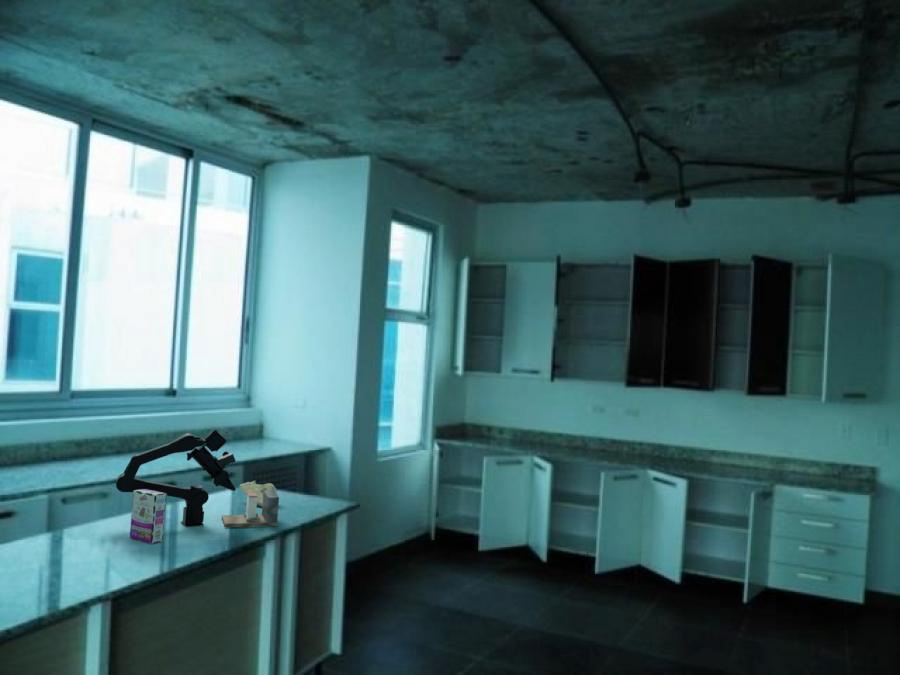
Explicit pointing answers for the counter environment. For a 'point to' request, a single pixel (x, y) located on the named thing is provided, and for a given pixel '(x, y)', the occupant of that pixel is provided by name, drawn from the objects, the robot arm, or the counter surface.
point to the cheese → (257, 490)
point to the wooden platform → (265, 519)
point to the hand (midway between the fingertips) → (234, 489)
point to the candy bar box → (148, 516)
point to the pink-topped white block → (251, 505)
